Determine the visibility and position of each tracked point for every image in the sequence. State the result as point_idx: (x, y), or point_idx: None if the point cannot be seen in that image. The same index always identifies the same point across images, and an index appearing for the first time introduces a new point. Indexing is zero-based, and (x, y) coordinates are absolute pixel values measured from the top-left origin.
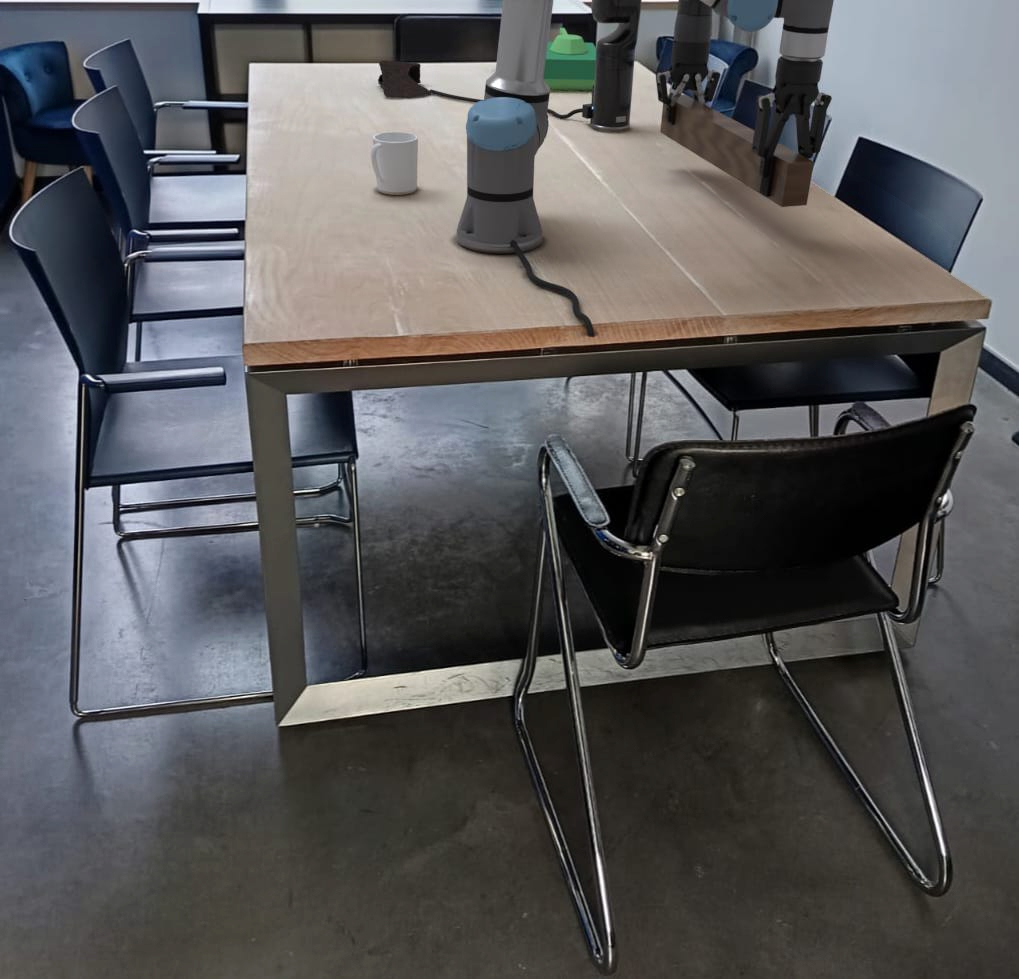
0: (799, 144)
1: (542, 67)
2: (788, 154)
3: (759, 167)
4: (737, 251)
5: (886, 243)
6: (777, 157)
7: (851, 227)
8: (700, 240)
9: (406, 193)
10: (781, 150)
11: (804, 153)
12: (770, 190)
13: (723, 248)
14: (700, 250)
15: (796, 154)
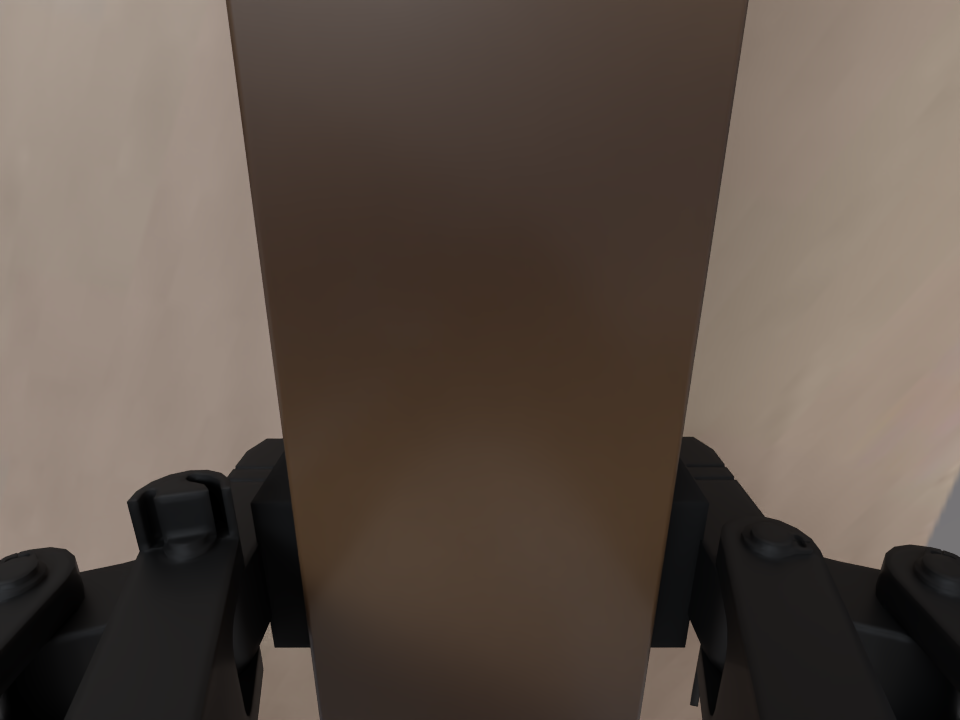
0: (730, 665)
1: None
2: (502, 637)
3: (228, 477)
4: (236, 455)
5: (895, 513)
6: (316, 688)
7: (929, 299)
8: (110, 293)
9: None
10: (514, 475)
11: (699, 678)
12: None
13: (188, 411)
14: (80, 410)
15: (602, 649)
